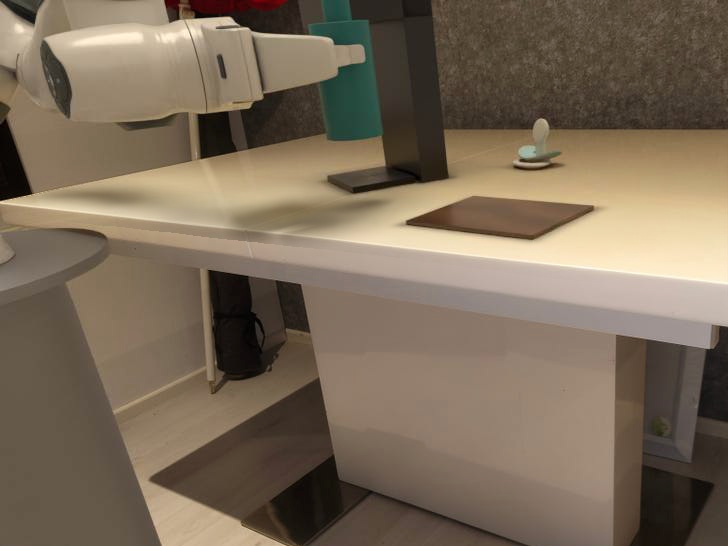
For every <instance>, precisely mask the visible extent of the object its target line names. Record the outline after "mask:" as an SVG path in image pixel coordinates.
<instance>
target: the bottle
mask: <svg viewBox="0 0 728 546" xmlns="http://www.w3.org/2000/svg"><path fill="white" fill-rule="evenodd" d="M321 3H322V10H323V16H324V22H325V23H318V24H309V25H308V28H309V29H308V32H309V36H322V37H328V38H331V39H332V40H333V42H334V45H359V44H360V45H362V46H363V47H364V51H365V61H364V62H363V63H357V64H349V65H345V66H341V67H338V74H337V76H335V77H333V78H331V79H328V80H324V81H320V82H317V88H318V94H319V101H320V106H321V112H322V118H323V123H324V129H325V130H324V131H325V136H326V140H327V141H330V142H350V141H351V142H352V141H360V140H368V139H373V138H377V137H382V135H383V126H382V118H381V110H380V103H379V95H378V87H377V79H376V72H375V64H374V56H373V49H372V41H371V33H370V26H369V20H355V21H352V16H351V8H350V1H349V0H321Z"/></svg>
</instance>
